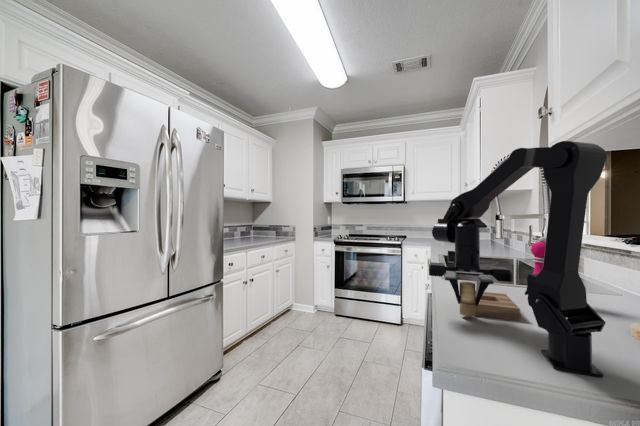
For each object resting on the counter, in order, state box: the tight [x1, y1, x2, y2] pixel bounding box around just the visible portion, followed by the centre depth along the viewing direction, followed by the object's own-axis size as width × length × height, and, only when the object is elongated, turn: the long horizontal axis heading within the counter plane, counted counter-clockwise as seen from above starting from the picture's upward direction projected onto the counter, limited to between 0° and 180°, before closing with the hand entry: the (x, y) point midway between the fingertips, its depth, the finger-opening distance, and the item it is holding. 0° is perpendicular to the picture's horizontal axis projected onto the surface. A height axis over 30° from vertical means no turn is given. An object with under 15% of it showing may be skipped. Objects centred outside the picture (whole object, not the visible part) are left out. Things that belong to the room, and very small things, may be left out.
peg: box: [459, 281, 477, 318], centre depth 70 cm, size 4×4×8 cm
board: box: [475, 290, 521, 321], centre depth 77 cm, size 14×12×3 cm
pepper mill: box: [530, 236, 546, 274], centre depth 84 cm, size 7×7×20 cm
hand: (467, 304), depth 70 cm, fingers closed on peg, 4 cm apart
